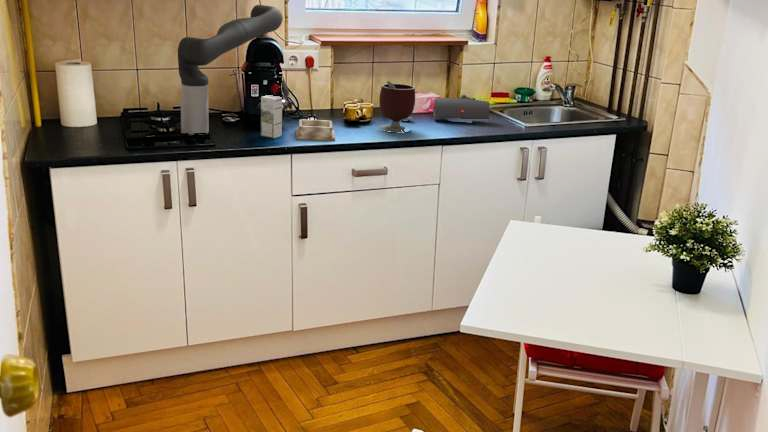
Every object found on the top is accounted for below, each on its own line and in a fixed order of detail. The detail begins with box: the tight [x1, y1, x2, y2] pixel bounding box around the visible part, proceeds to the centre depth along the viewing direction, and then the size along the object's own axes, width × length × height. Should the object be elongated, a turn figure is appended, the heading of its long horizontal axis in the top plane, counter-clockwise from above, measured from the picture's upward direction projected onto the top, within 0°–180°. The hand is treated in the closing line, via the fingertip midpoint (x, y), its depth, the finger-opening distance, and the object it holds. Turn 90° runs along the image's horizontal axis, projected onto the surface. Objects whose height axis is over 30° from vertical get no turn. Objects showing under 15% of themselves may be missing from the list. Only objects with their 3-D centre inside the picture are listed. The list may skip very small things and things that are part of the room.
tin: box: [350, 98, 364, 104], centre depth 314 cm, size 15×3×8 cm, turn 168°
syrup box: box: [260, 95, 283, 139], centre depth 276 cm, size 6×6×14 cm
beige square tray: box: [295, 118, 336, 141], centre depth 284 cm, size 14×14×4 cm
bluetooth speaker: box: [433, 97, 491, 120], centre depth 324 cm, size 23×9×10 cm, turn 90°
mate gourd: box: [378, 80, 416, 132], centre depth 299 cm, size 16×14×20 cm
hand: (272, 107), depth 286 cm, fingers open, 8 cm apart
